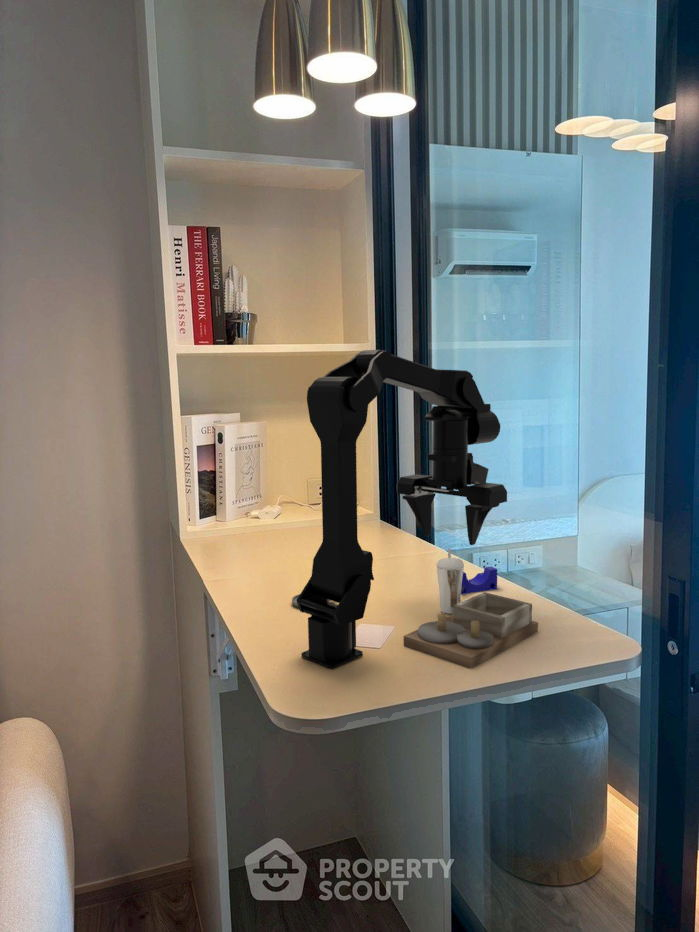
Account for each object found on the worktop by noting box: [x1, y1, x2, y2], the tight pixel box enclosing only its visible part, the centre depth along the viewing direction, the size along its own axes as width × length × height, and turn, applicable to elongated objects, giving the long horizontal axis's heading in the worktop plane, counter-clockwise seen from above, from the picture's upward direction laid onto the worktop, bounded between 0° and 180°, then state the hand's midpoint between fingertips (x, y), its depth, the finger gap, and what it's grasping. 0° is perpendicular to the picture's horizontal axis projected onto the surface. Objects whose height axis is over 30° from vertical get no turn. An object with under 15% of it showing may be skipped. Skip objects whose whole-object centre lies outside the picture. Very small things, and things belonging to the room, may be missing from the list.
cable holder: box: [461, 566, 498, 595], centre depth 131 cm, size 8×4×4 cm, turn 110°
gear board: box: [403, 591, 539, 669], centre depth 107 cm, size 18×12×4 cm, turn 136°
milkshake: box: [436, 548, 465, 615], centre depth 119 cm, size 5×5×10 cm
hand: (449, 540), depth 119 cm, fingers open, 9 cm apart
